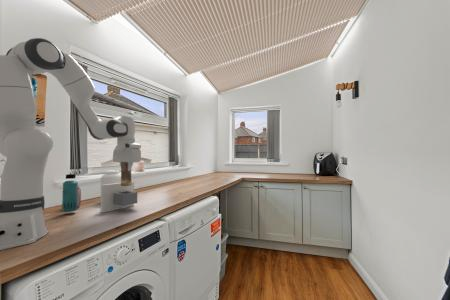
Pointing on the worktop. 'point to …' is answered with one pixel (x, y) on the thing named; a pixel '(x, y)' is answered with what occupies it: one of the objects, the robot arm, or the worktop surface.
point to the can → (111, 177)
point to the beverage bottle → (70, 194)
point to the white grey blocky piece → (117, 196)
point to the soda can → (79, 197)
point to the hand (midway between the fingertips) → (126, 170)
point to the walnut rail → (125, 175)
